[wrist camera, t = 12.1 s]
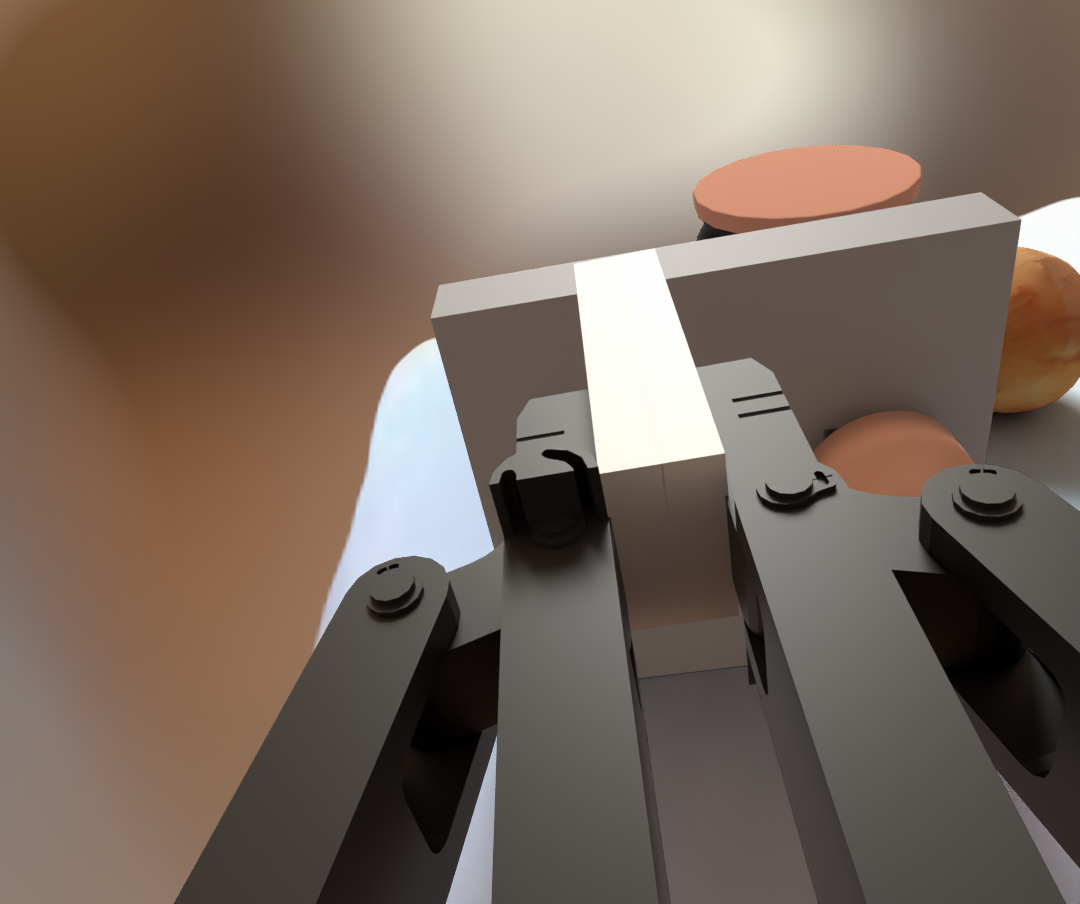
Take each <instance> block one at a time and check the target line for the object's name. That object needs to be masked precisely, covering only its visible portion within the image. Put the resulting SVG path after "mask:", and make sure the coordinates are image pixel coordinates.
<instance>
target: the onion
mask: <svg viewBox="0 0 1080 904" xmlns="http://www.w3.org/2000/svg"><path fill="white" fill-rule="evenodd" d="M1079 377H1080V275H1079V274H1078V272H1077V271H1076V270H1075V269H1074V268H1073V267H1072V266H1070V265H1069V264H1068V263H1067V262H1065V261H1063V260H1061V259H1059V258H1057V257H1055V256H1052V255H1050V254H1047V253H1044V252H1041V251H1037V250H1033V249H1029V248H1023V247H1017V252H1016V259H1015V266H1014V273H1013V280H1012V286H1011V293H1010V300H1009V307H1008V314H1007V320H1006V327H1005V334H1004V341H1003V348H1002V354H1001V361H1000V368H999V375H998V382H997V388H996V395H995V402H994V409H993V412H1001V413H1014V412H1023V411H1031V410H1035V409H1038V408H1040V407H1043V406H1045V405H1048V404H1050V403H1052V402H1054V401H1056V400H1057V399H1059V398H1060V397H1061V396H1063V395H1064V394H1065V393H1066V392H1067V391H1068V390H1069V389H1070V388H1072V387H1073V385H1074V384H1075V383H1076V382H1077V380H1078V379H1079Z"/></svg>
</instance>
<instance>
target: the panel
mask: <svg viewBox="0 0 1080 904" xmlns="http://www.w3.org/2000/svg"><path fill="white" fill-rule="evenodd" d="M1020 225H1021V219H1020V218H1018V217H1017V216H1015V215H1014V214H1012V213H1011V212H1009V211H1008V210H1006V209H1005V208H1004V207H1002V206H1001V205H999V204H998V203H996V202H995V201H993V200H992V199H990V198H989V197H987V196H986V195H984V194H983V193H981V192H980V193H974V194H968V195H962V196H957V197H951V198H945V199H940V200H933V201H928V202H922V203H916V204H910V205H904V206H898V207H892V208H887V209H881V210H875V211H869V212H863V213H857V214H852V215H846V216H840V217H834V218H828V219H822V220H817V221H811V222H805V223H799V224H793V225H787V226H782V227H776V228H770V229H764V230H758V231H752V232H747V233H741V234H735V235H729V236H723V237H717V238H712V239H706V240H700V241H694V242H689V243H682V244H677V245H671V246H665V247H659V248H654V249H655V251H656V254H657V257H658V260H659V263H660V266H661V269H662V271H663V274H664V277H665V280H666V283H667V286H668V289H669V292H670V295H671V298H672V300H673V303H674V306H675V309H676V312H677V315H678V318H679V321H680V324H681V327H682V330H683V332H684V335H685V338H686V341H687V344H688V347H689V350H690V353H691V356H692V359H693V361H694V364H695V367H696V368H697V367H703V366H708V365H714V364H720V363H725V362H731V361H737V360H742V359H748V358H752V359H754V360H755V361H757V362H758V363H760V364H761V365H763V366H765V367H766V368H768V369H769V370H771V371H772V372H773V373H774V375H775V377H776V379H777V381H778V383H779V385H780V387H781V389H782V393H783V394H784V395H785V397H786V399H787V401H788V403H789V405H790V410H791V409H792V411H793V413H794V415H795V417H796V419H797V421H798V423H799V425H800V427H801V429H802V431H803V433H804V435H805V437H806V439H807V441H808V443H809V445H810V447H811V449H812V451H813V452H814V450H815V449H816V448H817V447H818V446H819V445H820V444H821V442H822V441H823V440H824V430H828V429H835V428H840V427H842V426H844V425H846V424H848V423H849V422H851V421H854V420H856V419H859V418H861V417H864V416H867V415H871V414H875V413H880V412H886V411H910V412H916V413H920V414H924V415H927V416H929V417H931V418H934V419H935V420H937V421H939V422H940V423H942V424H943V425H944V426H945V427H946V428H948V429H949V431H950V432H951V433H952V434H953V436H954V437H955V438H956V439H957V441H958V442H959V443H960V445H961V446H962V447H963V449H964V450H965V451H966V453H967V454H968V455H969V457H970V458H971V459H972V460H973V462H974V463H975V464H984V465H985V463H986V456H987V450H988V443H989V436H990V429H991V422H992V416H993V409H994V402H995V395H996V388H997V382H998V375H999V368H1000V361H1001V354H1002V348H1003V341H1004V334H1005V327H1006V320H1007V314H1008V307H1009V300H1010V293H1011V286H1012V280H1013V273H1014V266H1015V259H1016V252H1017V246H1018V239H1019V232H1020ZM648 250H650V249H648ZM642 251H644V250H642ZM636 252H639V251H636ZM630 253H634V252H630ZM624 254H629V253H624ZM624 254H618V255H624ZM618 255H613V256H618ZM613 256H607V257H601V258H595V259H590V260H583V261H577V262H572V263H566V264H560V265H554V266H548V267H543V268H537V269H531V270H525V271H519V272H513V273H507V274H502V275H496V276H490V277H484V278H479V279H473V280H467V281H461V282H455V283H449V284H443V285H439V288H438V292H437V296H436V300H435V303H434V307H433V311H432V315H431V322H432V325H433V329H434V333H435V336H436V340H437V344H438V347H439V351H440V355H441V358H442V362H443V365H444V369H445V373H446V376H447V380H448V383H449V387H450V391H451V394H452V398H453V402H454V405H455V409H456V412H457V416H458V420H459V423H460V427H461V430H462V434H463V438H464V441H465V445H466V449H467V452H468V456H469V459H470V463H471V467H472V470H473V474H474V477H475V481H476V485H477V488H478V492H479V496H480V499H481V503H482V506H483V510H484V514H485V517H486V521H487V524H488V528H489V532H490V535H491V539H492V543H493V546H494V549H496V548H497V547H498V546H499V545H500V544H501V543H502V542H503V541H504V535H503V532H502V528H501V525H500V522H499V518H498V515H497V511H496V508H495V504H494V501H493V498H492V494H491V491H490V487H489V483H490V480H491V477H492V475H493V472H494V471H495V470H496V469H497V468H498V467H499V466H500V465H501V464H502V463H503V462H504V461H505V460H506V459H507V458H509V457H511V456H513V455H515V454H516V442H517V439H516V437H517V418H518V416H519V415H520V413H521V412H522V410H523V409H524V407H525V406H526V404H527V403H528V401H529V400H530V399H535V398H540V397H546V396H552V395H557V394H563V393H569V392H574V391H580V390H586V389H588V381H587V372H586V364H585V355H584V347H583V338H582V330H581V321H580V313H579V305H578V296H577V288H576V279H575V271H574V264H577V263H582V262H587V261H592V260H598V259H603V258H608V257H613ZM738 609H739V616H732V617H725V618H718V619H712V620H705V621H698V622H691V623H684V624H677V625H670V626H664V627H657V628H650V629H643V630H636V631H631V637H632V642H633V647H634V653H635V658H636V663H637V670H638V677H639V678H646V677H654V676H663V675H671V674H679V673H688V672H696V671H704V670H713V669H721V668H729V667H738V666H746V665H748V664H747V652H746V639H745V627H744V617H743V614H742V610H741V607H740V604H739V600H738Z"/></svg>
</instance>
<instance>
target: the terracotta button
mask: <svg viewBox="0 0 1080 904" xmlns="http://www.w3.org/2000/svg"><path fill="white" fill-rule="evenodd" d="M813 453H814V455H815V457H816V459H817V461H818V462H819V463H821V464H823V465H826V466H828V467H830V468H832V469H834V470H835V471H836V472H837V473H838V474H839V475H840V476H841V478H842V479H843V480H844V481H845V482H846V484H847V486H848V488H850V489H854V490H858V491H861V492H865V493H870V494H878V495H887V496H905V497H921V489H922V488H923V486H924V485H925V483H926V482H927V481H928V479H929V478H930V477H931V476H933V475H935V474H937V473H939V472H941V471H943V470H944V469H946V468H950V467H956V466H961V465H966V464H975V463H974V462H973V460H972V459H971V458H970V457H969V455H968V454H967V453H966V451H965V450H964V449H963V447H962V446H961V445H960V443H959V442H958V441H957V439H956V438H955V437H954V436H953V434H952V433H951V432H950V431H949V429H948V428H946V427H945V426H944V425H943V424H942V423H940V422H939V421H937V420H935V419H934V418H931V417H929V416H927V415H924V414H920V413H916V412H910V411H886V412H880V413H875V414H871V415H867V416H864V417H861V418H859V419H856V420H854V421H851V422H849V423H848V424H846V425H844V426H842V427H840V428H835V429H828V430H824V440H823V441H822V442H821V444H820V445H819V446H818V447H817V448H816V449H815V450H814V452H813Z"/></svg>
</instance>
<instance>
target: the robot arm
mask: <svg viewBox="0 0 1080 904" xmlns="http://www.w3.org/2000/svg"><path fill="white" fill-rule="evenodd" d="M574 271H575V279H576V288H577V296H578V305H579V313H580V321H581V330H582V338H583V347H584V355H585V364H586V372H587V381H588V389H586V390H580V391H574V392H569V393H563V394H557V395H552V396H546V397H540V398H535V399H530V400H529V401H528V403H527V404H526V406H525V407H524V409H523V410H522V412H521V413H520V415H519V416H518V418H517V437H516V439H517V442H516V454H515V455H513V456H511V457H509V458H507V459H506V460H505V461H504V462H503V463H502V464H501V465H500V466H499V467H498V468H497V469H496V470H495V471H494V472H493V475H492V477H491V480H490V483H489V487H490V491H491V494H492V498H493V501H494V504H495V508H496V511H497V515H498V518H499V522H500V525H501V528H502V532H503V535H504V541H503V542H502V543H501V544H500V545H499V546H498V547H497V548H496V549H494V550H493V551H492V552H490V553H489V554H488V555H486V556H485V557H483V558H481V559H479V560H477V561H475V562H473V563H470V564H468V565H465V566H463V567H460V568H458V569H455V570H453V571H451V572H448V573H446V571H445V569H444V567H443V566H441V565H440V564H438V563H437V562H435V561H434V560H432V559H430V558H424V557H418V556H409V557H402V558H395V559H392V560H389V561H387V562H384V563H382V564H379V565H377V566H375V567H373V568H372V569H370V570H369V571H368V572H366V573H365V574H363V575H362V576H361V577H359V578H358V579H357V580H356V582H355V583H354V584H353V585H352V586H351V588H350V589H349V590H348V591H347V593H346V594H345V596H344V598H343V600H342V602H341V603H340V605H339V607H338V609H337V611H336V612H335V614H334V616H333V618H332V620H331V621H330V623H329V625H328V627H327V629H326V630H325V632H324V634H323V636H322V638H321V639H320V641H319V643H318V645H317V647H316V648H315V650H314V652H313V654H312V656H311V657H310V659H309V661H308V663H307V665H306V666H305V668H304V670H303V672H302V674H301V676H300V677H299V679H298V681H297V683H296V684H295V686H294V688H293V690H292V692H291V694H290V696H289V697H288V699H287V701H286V702H285V704H284V706H283V708H282V710H281V712H280V713H279V715H278V717H277V719H276V721H275V722H274V724H273V726H272V728H271V730H270V731H269V733H268V735H267V737H266V739H265V740H264V742H263V744H262V746H261V748H260V749H259V751H258V753H257V755H256V757H255V758H254V760H253V762H252V764H251V766H250V767H249V769H248V771H247V773H246V775H245V776H244V778H243V780H242V782H241V784H240V785H239V787H238V789H237V791H236V793H235V794H234V796H233V798H232V800H231V802H230V803H229V805H228V807H227V809H226V811H225V813H224V814H223V816H222V818H221V820H220V821H219V823H218V825H217V827H216V829H215V830H214V832H213V834H212V836H211V838H210V839H209V841H208V843H207V845H206V847H205V849H204V850H203V852H202V854H201V856H200V857H199V859H198V861H197V863H196V865H195V866H194V869H193V870H192V872H191V874H190V875H189V877H188V879H187V881H186V883H185V884H184V886H183V888H182V890H181V892H180V894H179V896H178V897H177V899H176V901H175V903H174V904H446V901H447V898H448V894H449V891H450V888H451V885H452V881H453V878H454V875H455V871H456V868H457V865H458V861H459V858H460V855H461V852H462V848H463V845H464V842H465V838H466V835H467V832H468V829H469V825H470V822H471V819H472V815H473V812H474V809H475V805H476V802H477V799H478V796H479V792H480V789H481V786H482V782H483V779H484V776H485V773H486V769H487V766H488V763H489V759H490V756H491V753H492V749H493V746H494V743H495V740H496V736H497V759H496V788H495V818H494V848H493V878H492V904H671V902H670V895H669V888H668V881H667V874H666V867H665V860H664V853H663V846H662V839H661V832H660V825H659V818H658V811H657V804H656V797H655V790H654V783H653V776H652V769H651V762H650V755H649V747H648V740H647V733H646V726H645V719H644V712H643V705H642V698H641V691H640V684H639V677H638V670H637V663H636V658H635V653H634V647H633V642H632V637H631V631H636V630H643V629H650V628H657V627H664V626H670V625H677V624H684V623H691V622H698V621H705V620H712V619H718V618H725V617H732V616H739V609H738V600H739V604H740V607H741V610H742V614H743V617H744V627H745V639H746V652H747V664H748V676H749V685H752V684H757V687H758V691H759V694H760V698H761V701H762V705H763V708H764V712H765V716H766V719H767V723H768V726H769V730H770V733H771V737H772V740H773V744H774V748H775V751H776V755H777V758H778V762H779V765H780V769H781V772H782V776H783V780H784V783H785V787H786V790H787V794H788V797H789V801H790V805H791V808H792V812H793V815H794V819H795V822H796V826H797V829H798V833H799V837H800V840H801V844H802V847H803V851H804V854H805V858H806V861H807V865H808V869H809V872H810V876H811V879H812V883H813V886H814V890H815V894H816V897H817V901H818V904H1066V903H1065V901H1064V899H1063V897H1062V895H1061V893H1060V891H1059V889H1058V888H1057V886H1056V884H1055V882H1054V880H1053V878H1052V876H1051V874H1050V872H1049V870H1048V868H1047V867H1046V865H1045V863H1044V861H1043V859H1042V857H1041V855H1040V853H1039V851H1038V849H1037V847H1036V846H1035V844H1034V842H1033V840H1032V838H1031V836H1030V834H1029V832H1028V830H1027V828H1026V826H1025V824H1024V823H1023V821H1022V819H1021V817H1020V815H1019V813H1018V811H1017V809H1016V807H1015V805H1014V803H1013V802H1012V800H1011V798H1010V796H1009V794H1008V792H1007V790H1006V788H1005V786H1004V784H1003V782H1002V781H1001V779H1000V777H999V775H998V773H997V771H998V772H999V773H1000V774H1001V775H1002V776H1003V778H1004V779H1005V780H1006V781H1007V782H1008V784H1009V785H1010V786H1011V787H1012V788H1013V790H1014V791H1015V792H1016V793H1017V794H1018V795H1019V797H1020V798H1021V799H1022V800H1023V801H1024V803H1025V804H1026V805H1027V806H1028V807H1029V809H1030V810H1031V811H1032V812H1033V813H1034V815H1035V816H1036V817H1037V818H1038V819H1039V820H1040V822H1041V823H1042V824H1043V825H1044V826H1045V828H1046V829H1047V830H1048V831H1049V832H1050V834H1051V835H1052V836H1053V837H1054V838H1055V839H1056V841H1057V842H1058V843H1059V844H1060V845H1061V847H1062V848H1063V849H1064V850H1065V851H1066V853H1067V854H1068V855H1069V856H1070V857H1071V859H1072V860H1073V861H1074V862H1075V863H1076V864H1077V866H1078V867H1079V868H1080V511H1078V510H1077V509H1076V508H1074V507H1073V506H1072V505H1070V504H1069V503H1067V502H1066V501H1065V500H1063V499H1062V498H1061V497H1059V496H1058V495H1057V494H1055V493H1054V492H1052V491H1051V490H1050V489H1048V488H1047V487H1046V486H1044V485H1043V484H1042V483H1040V482H1039V481H1037V480H1035V479H1033V478H1031V477H1029V476H1027V475H1025V474H1023V473H1022V472H1020V471H1017V470H1013V469H1009V468H1005V467H1001V466H997V465H984V464H966V465H961V466H956V467H950V468H946V469H944V470H943V471H941V472H939V473H937V474H935V475H933V476H931V477H930V478H929V479H928V481H927V482H926V483H925V485H924V486H923V488H922V489H921V497H905V496H887V495H878V494H870V493H865V492H861V491H858V490H854V489H850V488H848V486H847V484H846V482H845V481H844V480H843V479H842V478H841V476H840V475H839V474H838V473H837V472H836V471H835V470H834V469H832V468H830V467H828V466H826V465H823V464H821V463H819V462H818V461H817V459H816V457H815V455H814V453H813V451H812V449H811V447H810V445H809V443H808V441H807V439H806V437H805V435H804V433H803V431H802V429H801V427H800V425H799V423H798V421H797V419H796V417H795V415H794V413H793V411H792V409H791V410H790V405H789V403H788V401H787V399H786V397H785V395H784V394H783V393H782V389H781V387H780V385H779V383H778V381H777V379H776V377H775V375H774V373H773V372H772V371H771V370H769V369H768V368H766V367H765V366H763V365H761V364H760V363H758V362H757V361H755V360H754V359H752V358H748V359H742V360H737V361H731V362H725V363H720V364H714V365H708V366H703V367H697V368H696V367H695V364H694V361H693V359H692V356H691V353H690V350H689V347H688V344H687V341H686V338H685V335H684V332H683V330H682V327H681V324H680V321H679V318H678V315H677V312H676V309H675V306H674V303H673V300H672V298H671V295H670V292H669V289H668V286H667V283H666V280H665V277H664V274H663V271H662V269H661V266H660V263H659V260H658V257H657V254H656V251H655V249H650V250H644V251H639V252H634V253H629V254H624V255H618V256H613V257H608V258H603V259H598V260H592V261H587V262H582V263H577V264H574ZM995 768H996V769H997V771H996V769H995Z"/></svg>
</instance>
